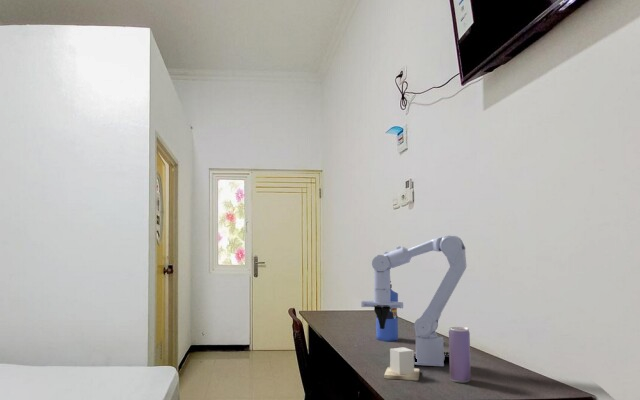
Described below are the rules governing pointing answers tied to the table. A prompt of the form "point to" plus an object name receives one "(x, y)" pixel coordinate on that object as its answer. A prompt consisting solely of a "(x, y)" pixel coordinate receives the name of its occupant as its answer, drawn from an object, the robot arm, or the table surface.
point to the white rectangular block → (402, 360)
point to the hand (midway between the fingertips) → (382, 328)
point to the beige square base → (402, 375)
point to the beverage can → (459, 354)
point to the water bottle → (389, 322)
